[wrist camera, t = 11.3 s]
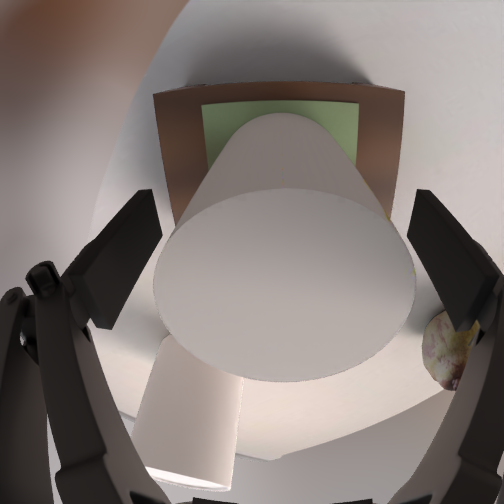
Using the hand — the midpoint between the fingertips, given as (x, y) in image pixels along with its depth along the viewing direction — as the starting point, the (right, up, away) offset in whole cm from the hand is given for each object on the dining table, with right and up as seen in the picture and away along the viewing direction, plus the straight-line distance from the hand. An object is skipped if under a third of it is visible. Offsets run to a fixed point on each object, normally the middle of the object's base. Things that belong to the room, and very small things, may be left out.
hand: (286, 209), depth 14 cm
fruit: (+26, -12, +21) cm, 36 cm away
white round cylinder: (0, +3, +5) cm, 6 cm away
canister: (-9, -18, +29) cm, 36 cm away
